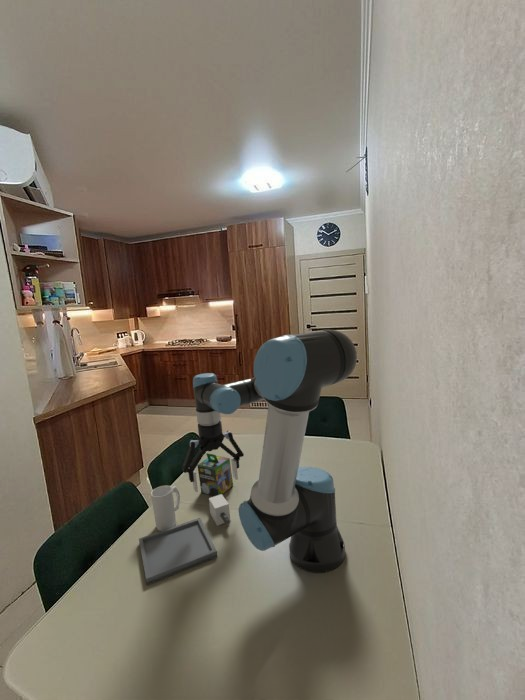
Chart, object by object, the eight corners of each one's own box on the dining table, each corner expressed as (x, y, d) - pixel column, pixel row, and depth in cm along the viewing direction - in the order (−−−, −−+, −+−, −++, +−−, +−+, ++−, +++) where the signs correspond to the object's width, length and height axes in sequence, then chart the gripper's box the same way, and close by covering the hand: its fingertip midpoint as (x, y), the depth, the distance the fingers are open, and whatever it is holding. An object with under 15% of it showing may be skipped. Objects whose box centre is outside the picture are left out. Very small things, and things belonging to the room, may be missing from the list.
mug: (164, 534, 109) (159, 498, 107) (151, 527, 113) (146, 493, 111) (188, 517, 117) (184, 483, 115) (175, 511, 121) (171, 479, 119)
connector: (235, 529, 108) (233, 511, 107) (221, 534, 106) (219, 516, 106) (220, 506, 122) (218, 490, 121) (208, 510, 120) (206, 494, 119)
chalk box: (233, 486, 134) (229, 449, 132) (218, 498, 127) (214, 460, 125) (215, 481, 139) (211, 446, 137) (199, 492, 132) (195, 455, 130)
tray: (217, 556, 97) (216, 550, 97) (147, 585, 89) (146, 578, 89) (200, 522, 113) (199, 517, 113) (139, 544, 105) (138, 538, 105)
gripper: (241, 410, 119) (246, 468, 122) (167, 427, 109) (175, 490, 112) (249, 416, 112) (255, 477, 115) (172, 434, 102) (180, 501, 105)
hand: (216, 483), depth 114 cm, fingers open, 13 cm apart
